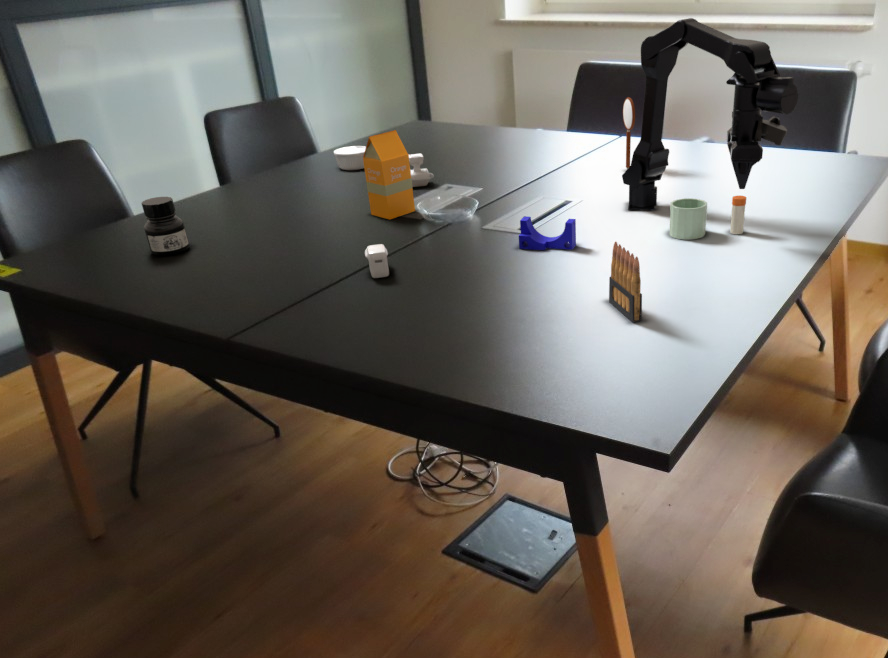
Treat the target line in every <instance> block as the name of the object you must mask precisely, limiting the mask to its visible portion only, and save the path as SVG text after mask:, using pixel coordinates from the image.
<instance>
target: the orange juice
mask: <svg viewBox="0 0 888 658" xmlns="http://www.w3.org/2000/svg"><path fill="white" fill-rule="evenodd" d="M365 147H366V149H365V152H364V156H363V162H364V168H363V169H364V176H365V182H366V183H365V184H366V189H367V190H366V191H367V196H368V203H369V209H370V215H371V216H375V217H378V218H382V219H386V220H393V219H396V218H398V217H401V216H404V215H408V214H411V213H413V212H416V206H415V198H414V189H413V188H414V187H413V186H412V178H411V171H410V170H411V164H410V161H409V155H410V154H409V153H408V151H407V149H406V147H405V144H403V142H402V140H401V138H400V136H399V134H398V132H397V130H396V129H393V130H390V131H385V132H381V133H378V134H374V135H370V136H368V138H367V142H366V146H365Z"/></svg>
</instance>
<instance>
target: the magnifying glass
mask: <svg viewBox="0 0 888 658" xmlns="http://www.w3.org/2000/svg"><path fill="white" fill-rule="evenodd" d="M622 105H623V106H622V121H623V125H624V127H625V129H626V136H625V138H626V139H625V140H626V141H625V145H626V146H625V168H626V170H627V169H628V168H629V167H630V166H631V142H632V141H631V139H632V137H631V135H632V131H631V130H633V128H634V127H635V123H636V107H635V103H634V101H633V99H632V97H629V96H628V97H626V98H625V99H624V100H623V104H622Z"/></svg>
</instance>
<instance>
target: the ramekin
mask: <svg viewBox="0 0 888 658" xmlns="http://www.w3.org/2000/svg"><path fill="white" fill-rule="evenodd" d="M365 149H366V146H365V145H352V146H350V145H349V146H344V147H340V148H336V149H335V150H333V155H334V157H335V160H336V163H337V166H338V167H339V169H340V170H343V171H344V170H345V171H357V170H361V169H362V170H363V169H364V162H363V156H364V152H365Z"/></svg>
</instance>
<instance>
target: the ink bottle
mask: <svg viewBox="0 0 888 658" xmlns="http://www.w3.org/2000/svg"><path fill="white" fill-rule="evenodd" d="M141 206H142V211H143V213H144V214H143V215H144V216H145V219H146V222H145V223H144V226H143V229H144V233H145V236H146V240H147V244H148V246H149V250H150V252H151V254H152V255H155V256H161V257H164V256H172V255H176V254H181V253H183V252H185V251H187V250H188V249H189V248H190V242H189V238H188V234H187V231H186V227H185V223H184V221H183V220H182V218H180V217H178V216H177V215H176V214H177V212H176V207H175V204H174V200H173V198H172V197H171V196H156V197H151V198H147V199H145V200H143V201H141Z"/></svg>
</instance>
